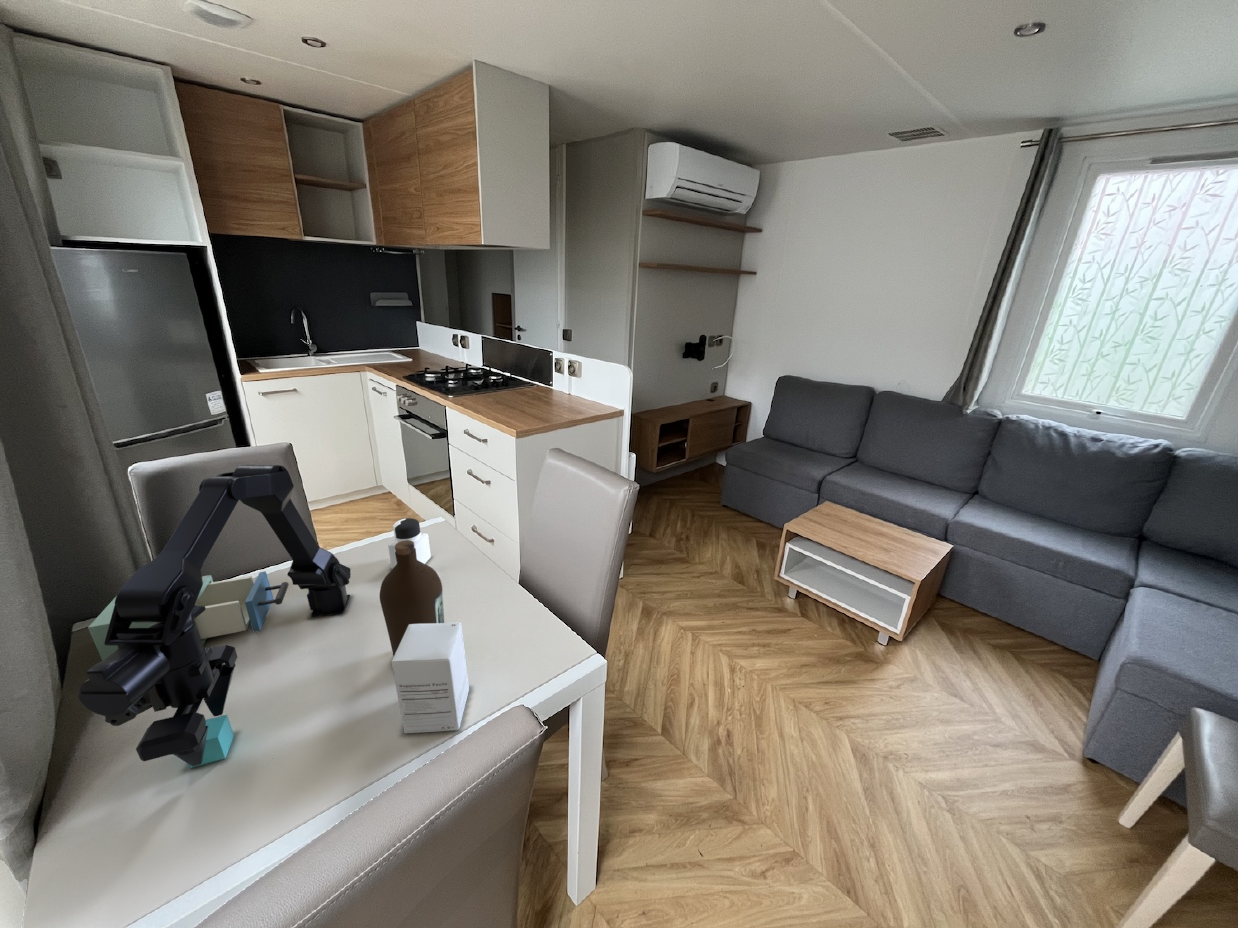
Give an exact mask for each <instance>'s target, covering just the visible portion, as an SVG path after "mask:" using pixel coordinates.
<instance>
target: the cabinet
mask: <svg viewBox="0 0 1238 928" xmlns="http://www.w3.org/2000/svg"><path fill="white" fill-rule="evenodd" d="M202 581H203V586H202V588H201V591H200V593H199V596H198V598H197V600H198V599H199V597H200V596H201V594H202V593H203V591H204V590H205V588H206V586H207V585H208V583H212V582H214V580H213V577H212V575H211V574H209V575H202ZM116 597H117V595H116V596H115V597H114V598H113V599H112V600H111V602H110V603H109V604H107V606H106V607H105V608H104V609H103V610H102V611H101V612H100V614H98V616H97V617H96V618H95V619H94V620H93V621H92V622H91V623H90V624H89V626H88V627H87V629H88V631H89V633H90V636H91V638H92V641H93V643H94V645H95V647H96V651H97V652H98V654H99V656H100V659H101V661H103V660H105V659H106V658H107V657H108V656H110V655H111V654H112V653H114V652H115V651H116V650H118V646H105V645H104V642H105V639H106V635H107V631H108V628H109V624H110V620H111V617H112V613H113V609H114V606H115V599H116ZM196 602H197V601H196ZM154 623H155V622H132V623H131V625H130V627H129V628H149V627H150V626H151V625H153V624H154ZM207 639H208V638H204V639H201V640H202V643H203V645H204V644H205V642H207Z"/></svg>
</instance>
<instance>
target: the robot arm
mask: <svg viewBox="0 0 1238 928" xmlns="http://www.w3.org/2000/svg"><path fill="white" fill-rule="evenodd" d="M294 489H295V486H294V483H293V481H292V477H291V475H290V472H289V471H288V469H287V468H286V467H285V466H284V465H280V464H279V465H278V464H242V465H239V466H238V467H236V468H235V469H234V471H228V472H223V473H218V474H217V475H216V476H215V475H213V476H209V477H205V478H204V479H202V481H200V484H199V487H198V491H199V492H198V493H197V495H196V497H195V498H194V500H193V502H192V503H191V505H190V506H189V508H188V509H187V511H186V513H185V514H184V516H183V517H182V519H181V521H180V522H179V524H178V525H177V527H176V528H175V530H174V532H173V533H172V535H171V536H170V538H169V540H168V541H167V543H166V544H165V545H164V547H163V549H162V551H161V552H160V553H159V554H158V555H157V556H156V557H155V558H154V559H152V560H151V561H149V562H147V563H146V564H144V565H143V566H141V567H139V568H138V569H136V571H135V572H134V573H133V574H132V575H131V576H130V578H128V580H127V581H126V582H125V583H124V584H123V586H122V587H121V588H120V589H119V591H118V593H117V594H116V596H117V597H116V596H115V597H116V599H115V606H114V609H113V613H112V617H111V620H110V624H109V628H108V631H107V635H106V639H105V642H104V645H105V646H118V650H116V651H115V652H114V653H112V654H111V655H110V656H108V657H107V658H106V659H105V660H103V661H102V660H101V661H99V662H97V663H96V664H94V665H93V666H91V667H90V668H89V669H87V670H86V673H85V674H86V676H87V678H88V679H87V680H85V681H84V682H83V683H82V684H81V685H80V686H79V689H78V693H79V694H77V698H78V700H79V702H80V703H81V705H83V706H84V707H85V708H86V709H87V710H89V711H90V712H92V713H94V714H96V715H99V716H103V717H104V721H105V723H108V724H110V725H111V726H113V727H118V726H122V725H123V724H126V723H128V722H130V721H132V720H134V719H136V717H137V716H138V715H140V714H142V713H145V712H146V711H149V710H151V708H152V709H153V711H154V713H156V712H161V711H165V710H166V709H167V708H168V707H170V708H172V709H176V711H175V712H174V714H173V716H171V717H167V718H163V719H158V720H154V721H152V723H151V724H150V725H149V726H148V727H147V728H146V731H145V732H144V734H143V735H142V737H141V739H140V741H139V743H138V745H137V746H136V748H135V750H136V753H137V755H138V757H139V759H140V761H142V762H147V761H152V760H155V759H159V758H163V757H167V756H170V755H173V756H175V757H177V758H179V759H180V760H181V761H183V762H185V763H186V764H188V766H189V765H191V766H196V767H198V766H197V765H200V764H201V763H202V760H203V755H204V750H205V743H206V737H207V732H208V726H206V720H207V719H206V717H205V714H202V713H199V711H200V709H201V707H202V704H203V703H205V705H206V707H207V709H208V711H209V712H210V713H211V715H212V717H214V718H216V717H220V716H223V713H224V709H225V705H226V703H227V698H228V694H229V691H230V686H231V683H232V680H233V676H234V671H235V668H236V661H237V659H238V658H239V657H238V656H239V655H238V653H237V650H236V647H234V646H233V645H232V646H231V645H229V644H222V645H217V646H213V647H211V646H208V647H204V646H205V645H204V644H203V643H202V640H201V637H200V635H199V632H198V629H197V626H196V623H195V618H197V617H198V616H199V615H200V614H201V613H203V612H204V611H205V609H206V608H205V606H196V605H195V603H196V601H197V598H198V596H199V593H200V591H201V588H202V586H203V581H202V576H203V575H202V571H201V570H202V568H203V566H204V563H205V560H207V557H208V555H209V553H210V552H211V550H212V549H213V546H214V545H215V543H216V541H217V539H218V538H219V536H220V534H221V533H222V531H223V529H224V527H225V526H226V524H227V522H228V521H229V518H230V517H231V515H232V513H233V511H234V509H235V508H236V506H237V504H238V502H239V501H240V502H241V503H242V504H243V505H245V506H248V507H249V508H252V509H253V510H255V511H258V512H260V514H262V515H263V518H264V520H265V521H266V522H267V524H268V525H269V526H270V528H271V529H272V531H273V532H274V534H275V535H276V538H278V539H279V542H280V543H281V545H282V546H283V547H284V549H285V551H286V552H287V554H288V555H289V557H290V558H291V560H292V562H291V564H290V568H289V570H288V571H287V577H289V578H290V580H291V582H292V585H294V586H295V585H297V586H298V588H299V590H307V591H308V592H307V594H306V598H307V601H308V606H309V610H310V611H311V613H310V617H311V618H319V617H320V618H321V617H328V616H333V615H334V616H335V615H342V614H344V613H345V612H346V609H347V606H348V604H349V602H350V600H351V595H350V594H348V593H347V592H348V591H347V587H346V586H347V585H349V584H350V579H351V575H352V574H351V573H352V572H351V568H350V567H349V566H347V565H345V564H342V563H340V561H339V559H338V558H337V556H336V555H334V553H332V552H331V551H328V550H326V549H324V548H322V547H320V546H319V545H318V543H317V541H316V540H315V538H314V536H313V535H312V533H311V531H310V530H309V527H308V526H307V525H306V523H305V521H304V520H303V518H302V516H301V514H300V512H299V511H298V509H297V508H296V506H295V504H294V503H293V501H292V499H291V498H292V494H293V491H294ZM132 622H155V623H154V624H153V625H151V626H150V627H149V628H129V627H130V625H131V623H132ZM200 766H201V765H200Z"/></svg>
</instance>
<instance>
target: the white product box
mask: <svg viewBox="0 0 1238 928" xmlns="http://www.w3.org/2000/svg"><path fill="white" fill-rule="evenodd" d="M466 659H467V658H466V652H465V643H464V636H463V627H462V622H460V621H456V622H455V621H453V622H444V623H432V624H431V623H429V624H409V625H408V627H407V630H406V632H405V634H404V636H403V638H402V640H401V642H400V645H399V647H398V649H397V651H396V653H395V655H394V657H393V658H392V660H391V668H392V673H393V679H394V683H395V688H396V694H397V700H398V704H399V705H398V706H399V711H400V716H401V721H402V727H403V732H404V734H416V733H417V734H418V733H419V734H420V733H435V732H436V733H437V732H449V731H450V732H451V731H459V730H460V727H461V724H462V719H463V715H464V711H465V708H466V703H467V700H468V695H469V691H470V684H469V676H468V668H467V660H466Z"/></svg>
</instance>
